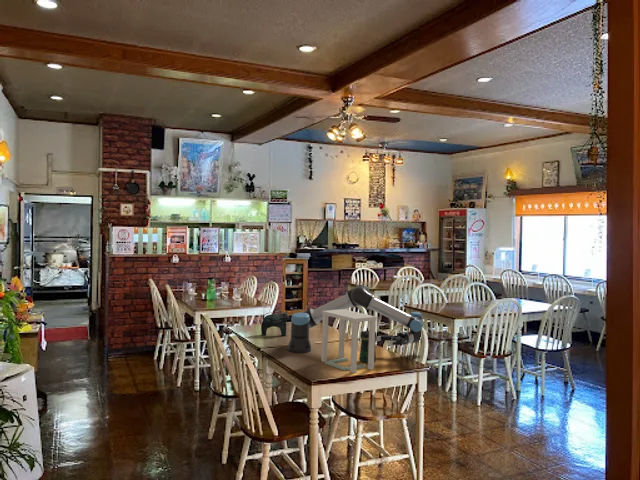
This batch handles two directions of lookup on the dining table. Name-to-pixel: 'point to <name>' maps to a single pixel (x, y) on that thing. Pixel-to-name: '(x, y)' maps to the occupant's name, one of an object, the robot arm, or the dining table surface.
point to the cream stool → (354, 318)
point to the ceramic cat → (275, 322)
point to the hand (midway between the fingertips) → (380, 341)
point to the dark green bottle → (365, 346)
